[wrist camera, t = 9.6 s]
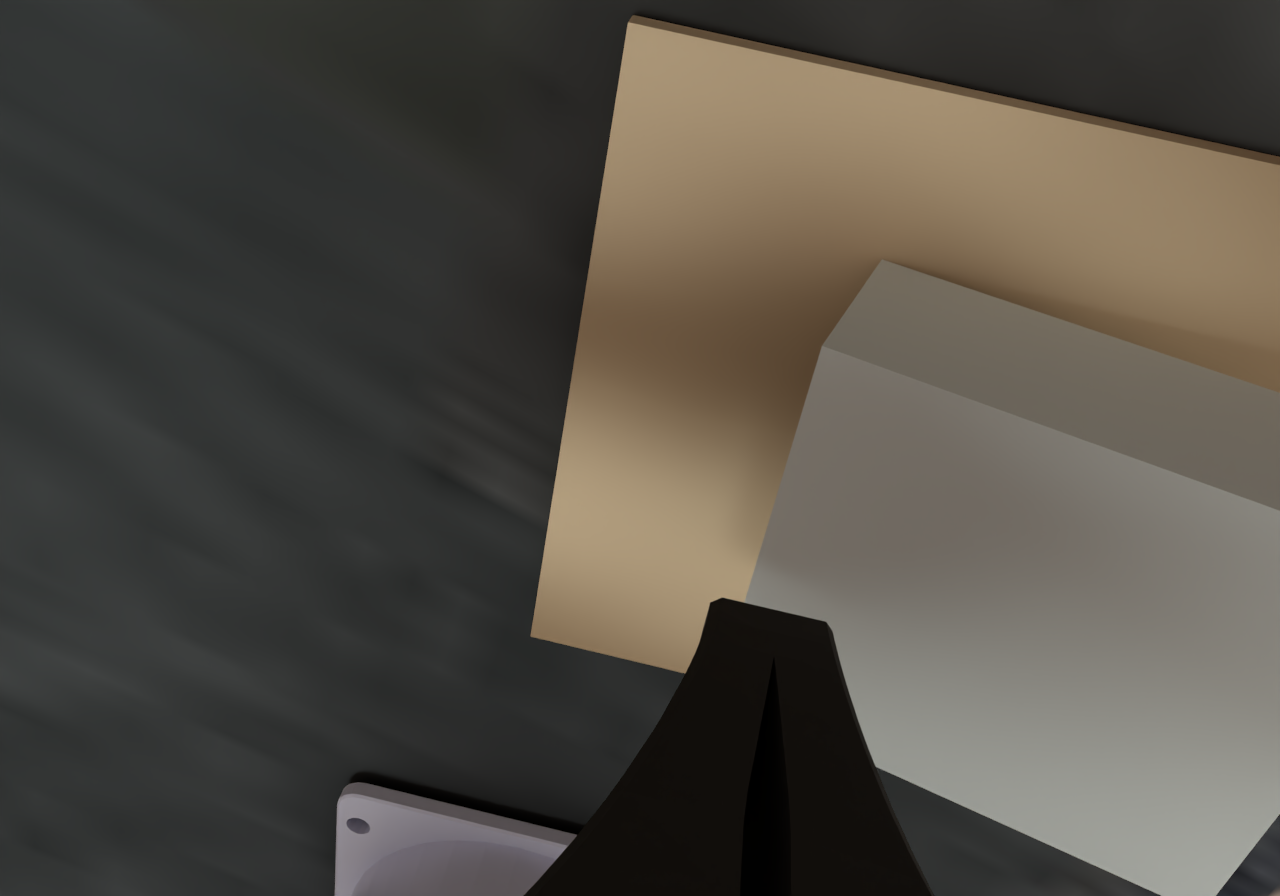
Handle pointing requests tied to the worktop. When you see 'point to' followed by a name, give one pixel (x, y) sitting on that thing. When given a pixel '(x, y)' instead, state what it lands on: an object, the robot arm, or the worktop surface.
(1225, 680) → the slab
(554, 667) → the worktop surface
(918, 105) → the board
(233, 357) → the worktop surface
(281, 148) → the worktop surface
